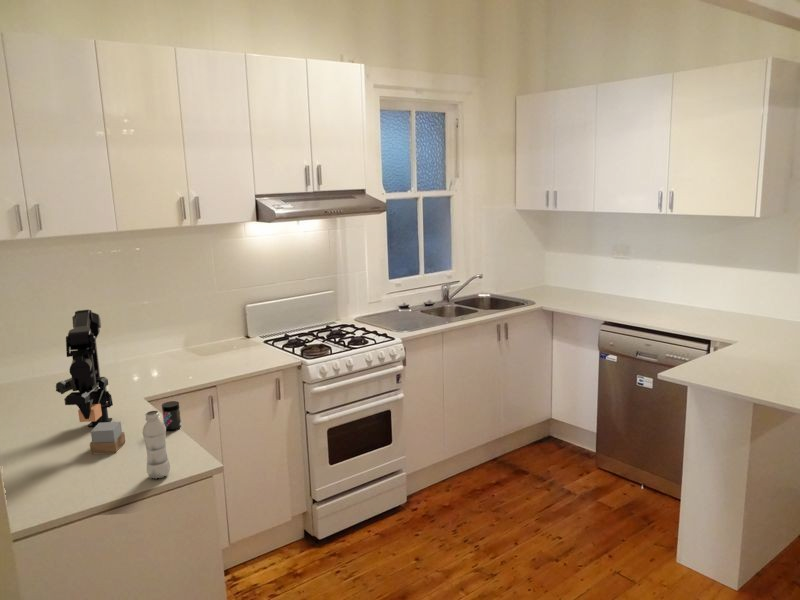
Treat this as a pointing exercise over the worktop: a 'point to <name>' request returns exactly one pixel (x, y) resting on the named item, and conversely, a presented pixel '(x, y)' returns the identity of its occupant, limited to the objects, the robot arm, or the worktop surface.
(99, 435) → the slate top block
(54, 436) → the worktop surface
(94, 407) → the terracotta block
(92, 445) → the walnut base block
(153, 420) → the plastic bottle
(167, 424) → the supplement container
